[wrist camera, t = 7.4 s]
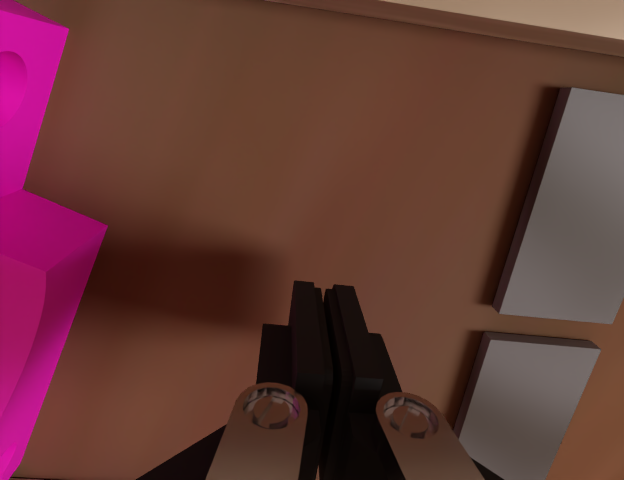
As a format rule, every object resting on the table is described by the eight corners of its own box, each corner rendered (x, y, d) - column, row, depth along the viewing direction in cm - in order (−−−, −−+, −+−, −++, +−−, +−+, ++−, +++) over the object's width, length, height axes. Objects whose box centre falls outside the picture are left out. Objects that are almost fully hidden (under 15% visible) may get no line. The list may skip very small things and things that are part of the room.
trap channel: (-710, -210, 8) (-1526, -455, 5) (721, 30, 11) (935, 1, 8) (-338, 481, 15) (-553, 615, 11) (516, 519, 18) (577, 636, 14)
